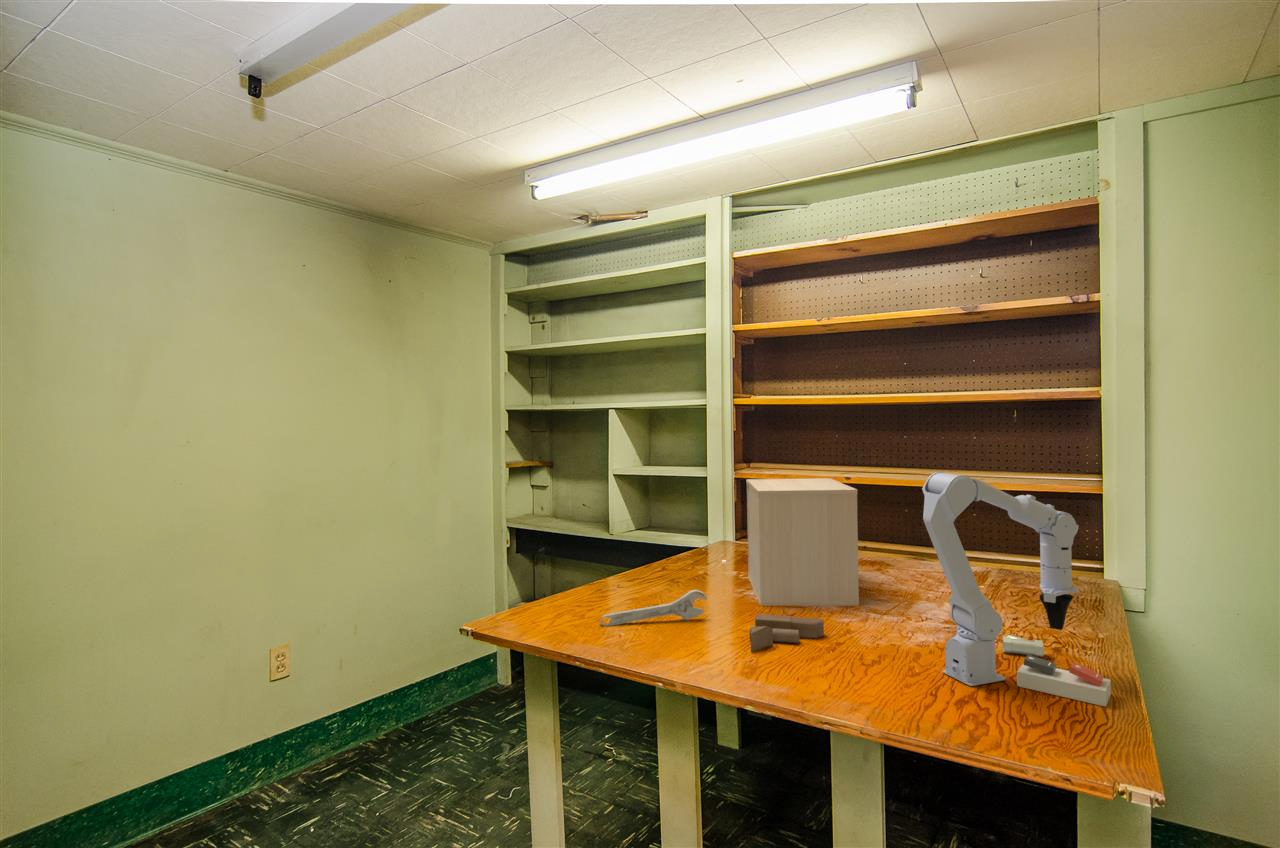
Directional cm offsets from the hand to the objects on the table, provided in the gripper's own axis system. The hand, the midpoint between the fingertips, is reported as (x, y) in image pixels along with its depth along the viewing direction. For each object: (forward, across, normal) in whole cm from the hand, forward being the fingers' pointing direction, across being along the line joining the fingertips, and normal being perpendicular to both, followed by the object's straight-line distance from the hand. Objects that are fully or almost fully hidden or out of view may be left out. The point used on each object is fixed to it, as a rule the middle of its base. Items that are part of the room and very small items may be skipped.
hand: (1056, 628), depth 141 cm
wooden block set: (+10, -20, +54) cm, 59 cm away
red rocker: (+5, -10, -7) cm, 13 cm away
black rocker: (+5, -10, +1) cm, 11 cm away
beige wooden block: (+10, +25, +76) cm, 80 cm away
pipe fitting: (+10, +8, +8) cm, 15 cm away
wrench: (+10, -29, +91) cm, 96 cm away
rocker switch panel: (+9, -10, -3) cm, 14 cm away
